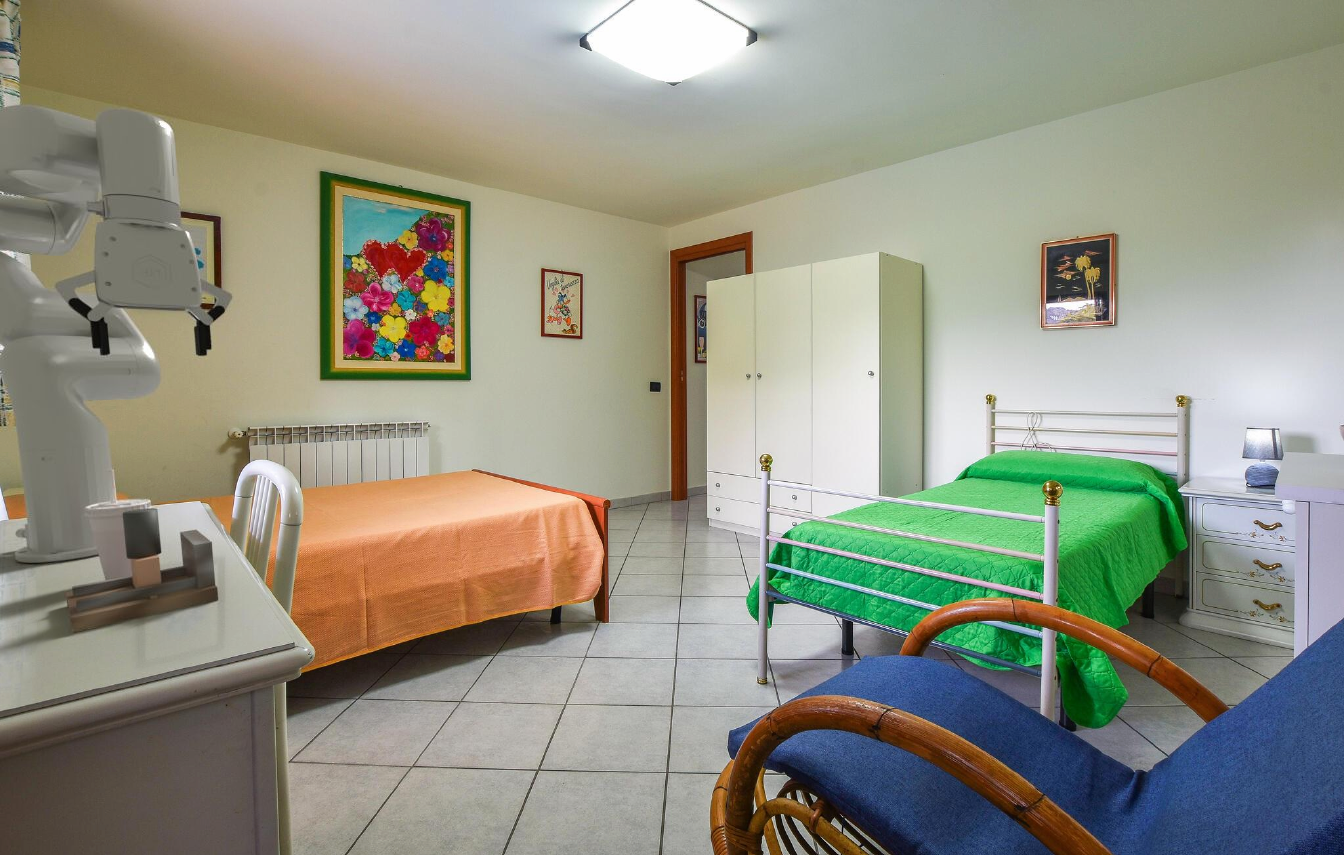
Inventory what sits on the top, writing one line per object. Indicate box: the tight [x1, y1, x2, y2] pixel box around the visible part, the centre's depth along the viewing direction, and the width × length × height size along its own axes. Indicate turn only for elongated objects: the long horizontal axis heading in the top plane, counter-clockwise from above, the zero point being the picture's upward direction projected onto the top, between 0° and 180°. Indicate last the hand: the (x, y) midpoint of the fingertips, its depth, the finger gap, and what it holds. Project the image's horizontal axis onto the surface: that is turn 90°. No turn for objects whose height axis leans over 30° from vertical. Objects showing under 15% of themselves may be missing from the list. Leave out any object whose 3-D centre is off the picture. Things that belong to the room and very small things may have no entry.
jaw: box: [122, 507, 162, 588], centre depth 71 cm, size 3×5×9 cm, turn 46°
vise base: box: [65, 529, 219, 633], centre depth 71 cm, size 12×11×6 cm
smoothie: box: [84, 468, 153, 581], centre depth 79 cm, size 6×6×14 cm
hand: (155, 355), depth 81 cm, fingers open, 9 cm apart
